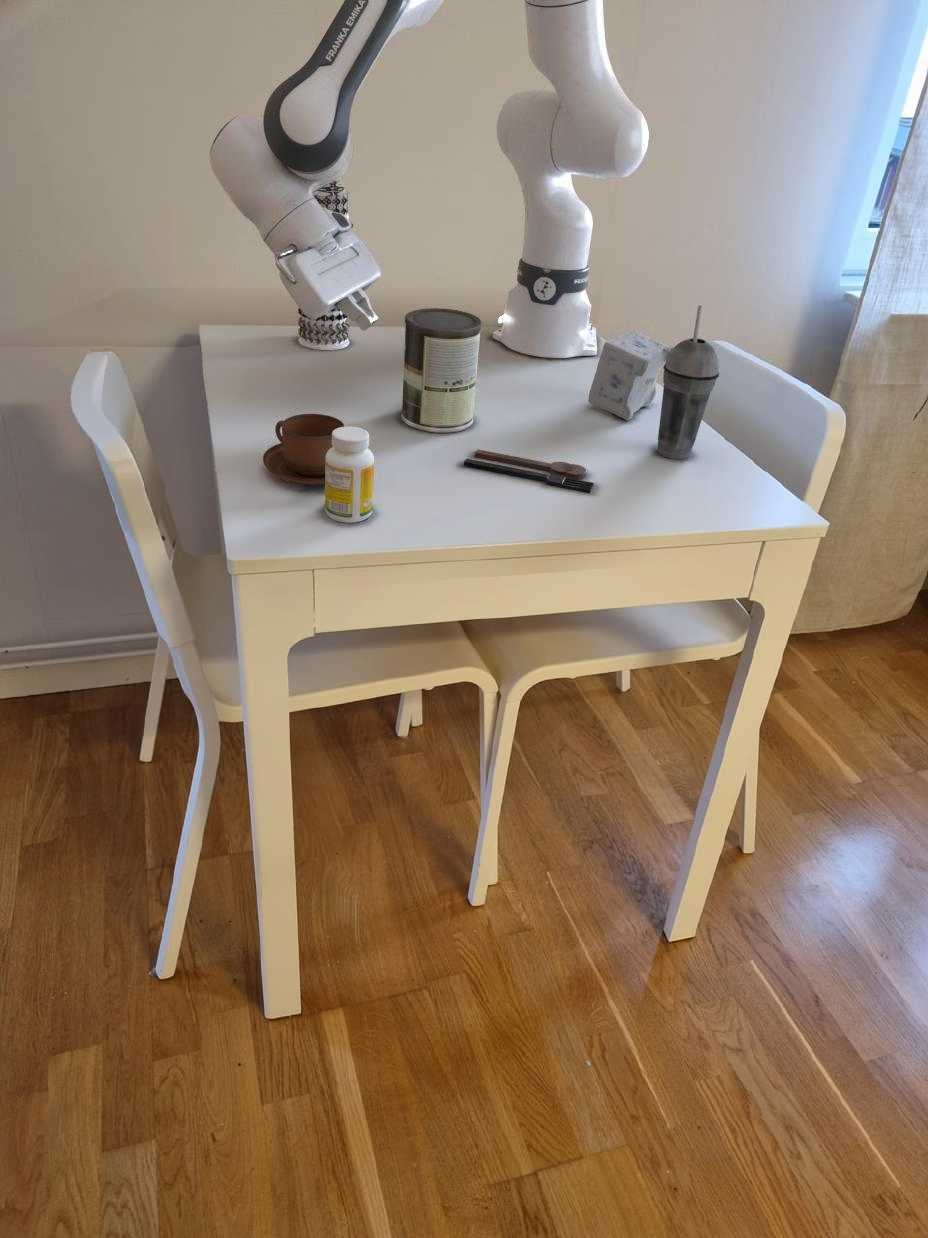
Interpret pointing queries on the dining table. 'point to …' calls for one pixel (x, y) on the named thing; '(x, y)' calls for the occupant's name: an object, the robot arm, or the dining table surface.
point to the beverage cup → (686, 393)
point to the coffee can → (440, 369)
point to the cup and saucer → (302, 448)
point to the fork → (533, 475)
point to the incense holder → (628, 373)
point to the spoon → (537, 464)
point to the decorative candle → (334, 324)
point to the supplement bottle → (349, 476)
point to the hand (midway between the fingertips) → (371, 325)
